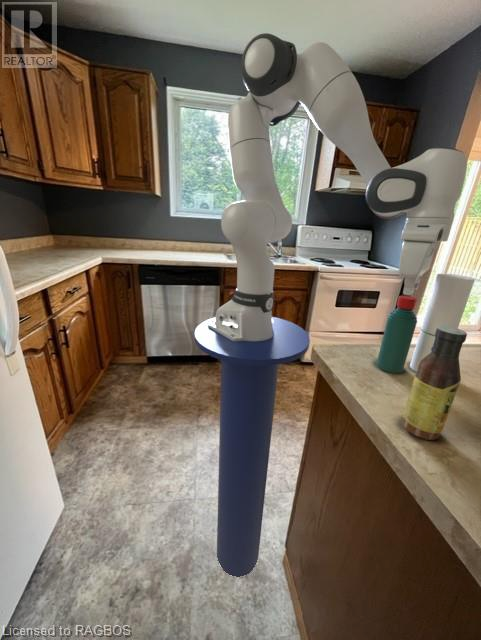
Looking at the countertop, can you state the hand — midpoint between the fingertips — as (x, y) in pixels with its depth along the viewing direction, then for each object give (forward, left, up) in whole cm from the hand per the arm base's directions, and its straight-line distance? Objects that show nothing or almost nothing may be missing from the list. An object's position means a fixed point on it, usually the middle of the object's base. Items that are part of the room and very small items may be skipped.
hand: (410, 292), depth 65 cm
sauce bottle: (+10, -22, -21) cm, 32 cm away
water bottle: (0, 0, -21) cm, 21 cm away
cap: (0, 0, -2) cm, 2 cm away
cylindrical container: (+7, +5, -21) cm, 23 cm away
